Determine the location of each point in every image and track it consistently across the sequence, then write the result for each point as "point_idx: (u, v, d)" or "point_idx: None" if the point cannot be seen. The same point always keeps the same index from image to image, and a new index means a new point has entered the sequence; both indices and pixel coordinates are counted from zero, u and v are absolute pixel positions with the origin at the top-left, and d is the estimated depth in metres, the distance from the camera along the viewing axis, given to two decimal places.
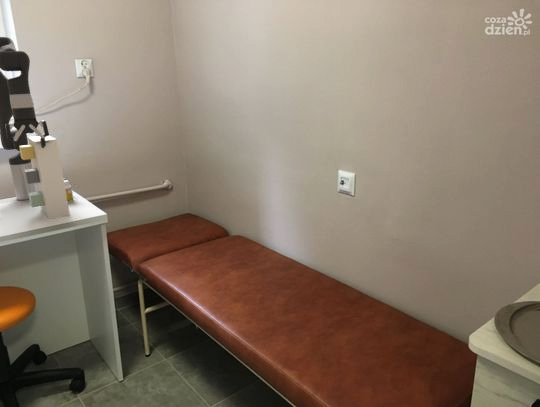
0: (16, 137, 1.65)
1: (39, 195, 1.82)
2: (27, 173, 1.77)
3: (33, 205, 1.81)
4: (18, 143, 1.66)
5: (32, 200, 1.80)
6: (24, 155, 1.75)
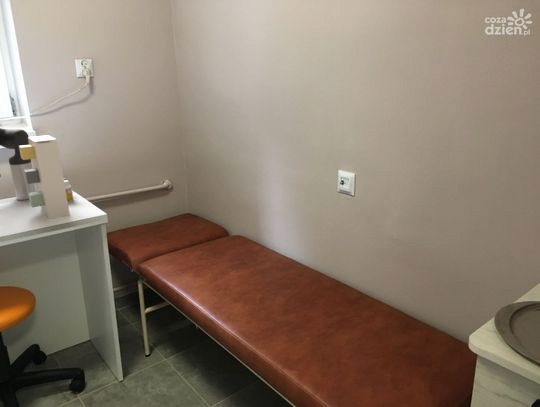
0: None
1: (39, 195, 1.82)
2: (27, 173, 1.77)
3: (33, 205, 1.81)
4: None
5: (32, 200, 1.80)
6: (24, 155, 1.75)
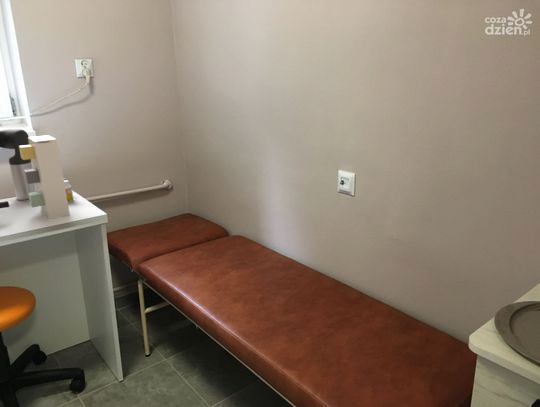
0: None
1: (39, 195, 1.82)
2: (27, 173, 1.77)
3: (33, 205, 1.81)
4: (1, 207, 1.77)
5: (32, 200, 1.80)
6: (24, 155, 1.75)
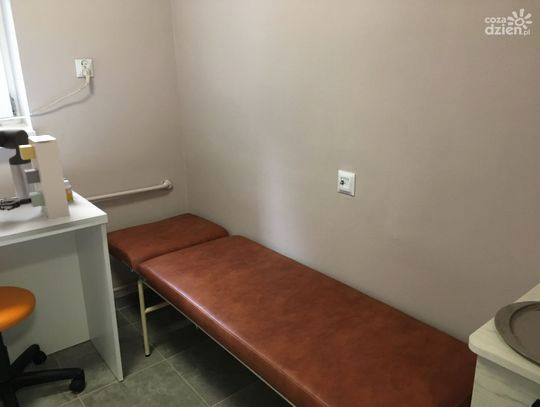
0: None
1: (40, 195, 1.82)
2: (27, 173, 1.77)
3: (34, 205, 1.81)
4: None
5: (33, 200, 1.81)
6: (24, 155, 1.75)
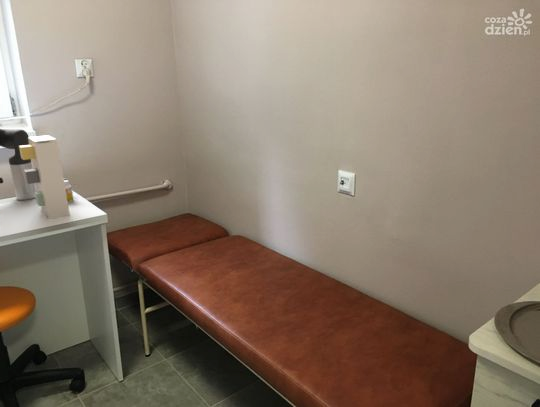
0: None
1: None
2: (27, 173, 1.77)
3: (39, 204, 1.82)
4: None
5: (39, 199, 1.82)
6: (24, 155, 1.75)
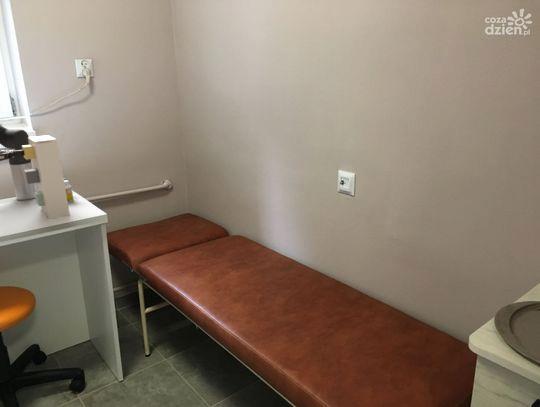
0: None
1: None
2: (27, 173, 1.77)
3: (39, 204, 1.82)
4: (16, 156, 1.76)
5: (39, 199, 1.82)
6: (27, 155, 1.76)
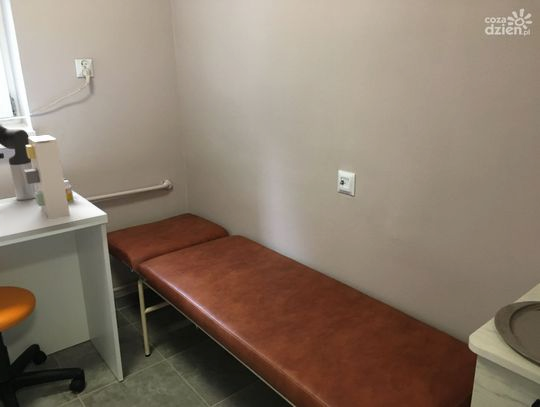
0: None
1: None
2: (27, 173, 1.77)
3: (39, 204, 1.82)
4: None
5: (39, 199, 1.82)
6: (31, 154, 1.77)
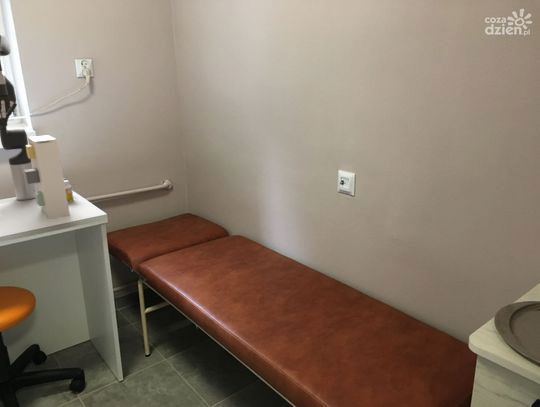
0: None
1: None
2: (27, 173, 1.77)
3: (39, 204, 1.82)
4: (2, 120, 1.77)
5: (39, 199, 1.82)
6: (31, 154, 1.77)
